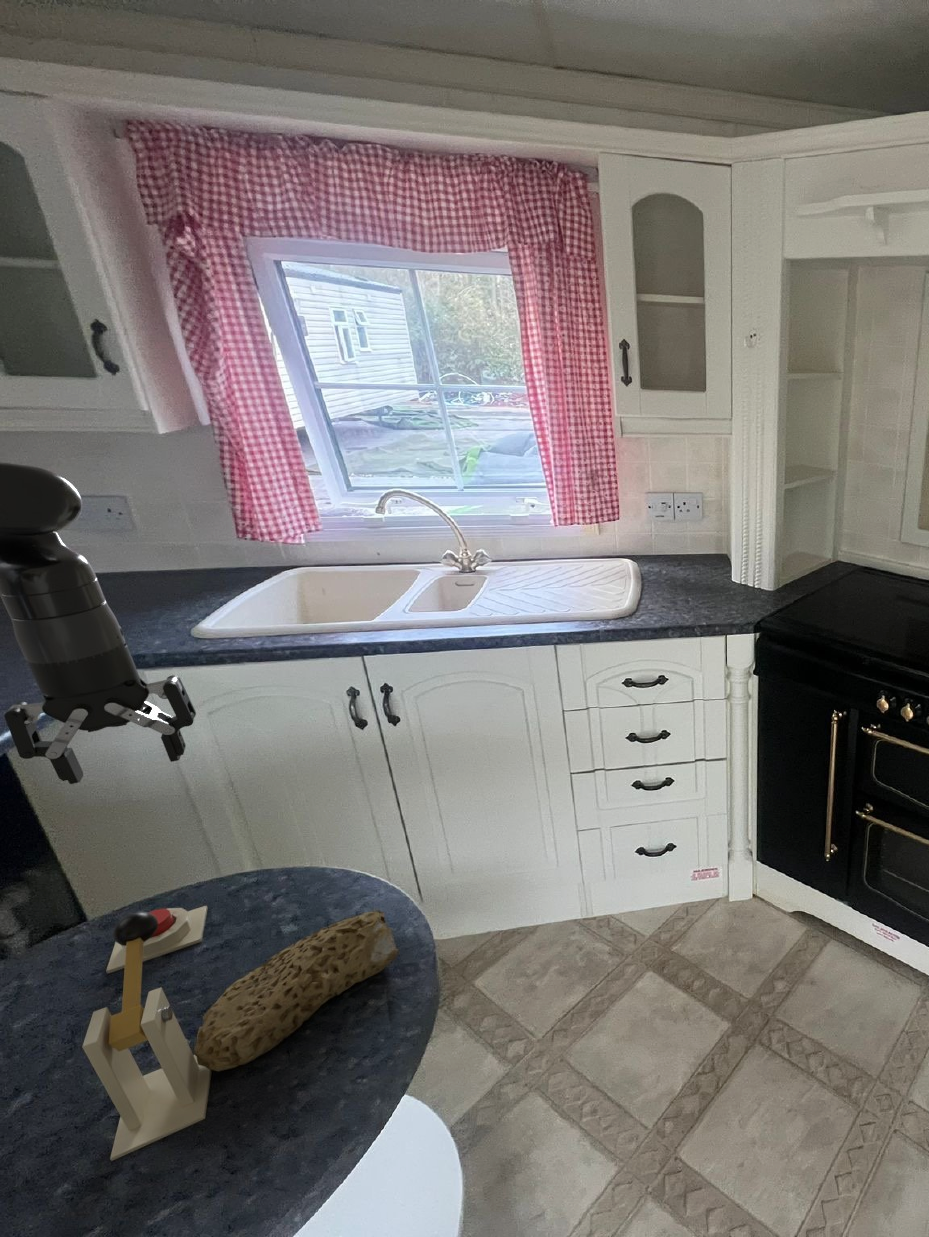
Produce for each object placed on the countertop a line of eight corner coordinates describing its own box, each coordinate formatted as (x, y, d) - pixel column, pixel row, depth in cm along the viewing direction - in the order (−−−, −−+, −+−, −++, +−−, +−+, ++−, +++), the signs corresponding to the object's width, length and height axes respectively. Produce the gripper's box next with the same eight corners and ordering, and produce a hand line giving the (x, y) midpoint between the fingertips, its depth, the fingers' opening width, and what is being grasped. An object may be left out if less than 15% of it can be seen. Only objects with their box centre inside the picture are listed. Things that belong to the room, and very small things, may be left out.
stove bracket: (132, 1088, 72) (84, 999, 67) (216, 1053, 76) (178, 966, 71) (113, 1166, 65) (59, 1073, 60) (207, 1123, 69) (163, 1032, 64)
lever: (121, 928, 73) (108, 914, 71) (163, 915, 75) (151, 901, 73) (112, 1057, 65) (97, 1045, 63) (158, 1038, 67) (146, 1027, 65)
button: (134, 944, 86) (129, 934, 85) (139, 925, 88) (135, 916, 88) (172, 932, 88) (167, 922, 87) (176, 914, 90) (172, 904, 90)
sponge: (377, 934, 93) (181, 1003, 78) (382, 892, 91) (180, 956, 76) (407, 1006, 86) (198, 1099, 71) (414, 964, 83) (198, 1050, 68)
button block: (109, 978, 84) (100, 961, 83) (121, 940, 89) (113, 924, 88) (203, 946, 89) (196, 929, 88) (209, 912, 94) (203, 896, 93)
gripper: (-37, 674, 66) (30, 806, 72) (157, 644, 74) (203, 766, 80) (-9, 647, 72) (52, 771, 78) (169, 622, 79) (211, 737, 86)
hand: (128, 768), depth 79 cm, fingers open, 8 cm apart
